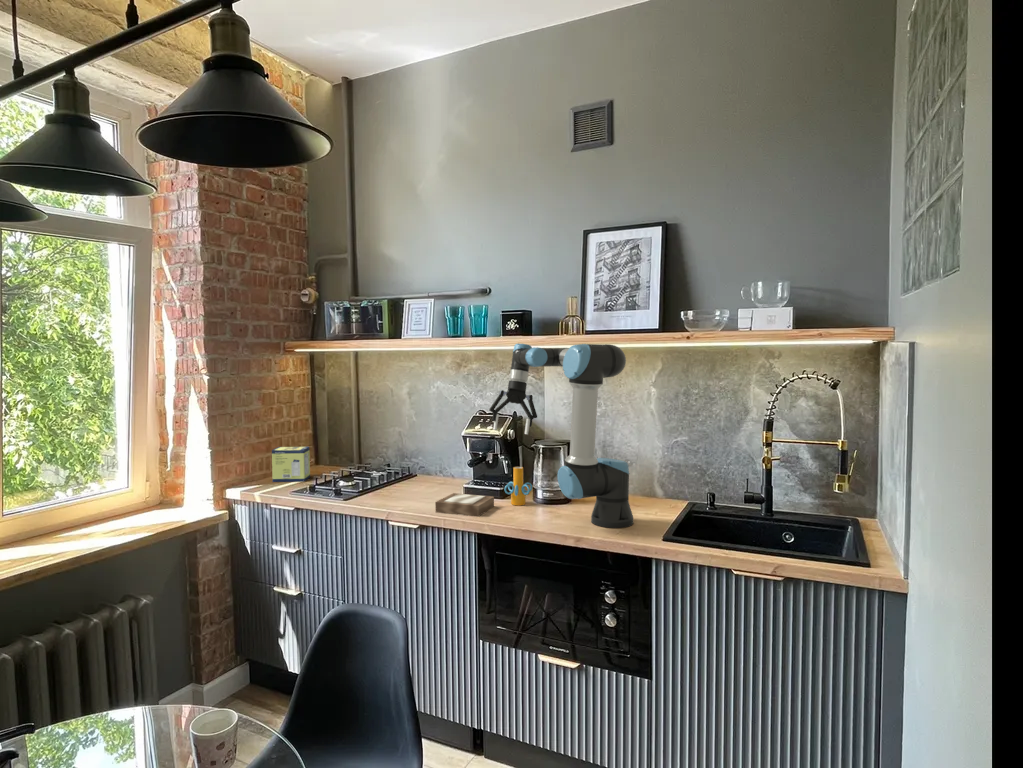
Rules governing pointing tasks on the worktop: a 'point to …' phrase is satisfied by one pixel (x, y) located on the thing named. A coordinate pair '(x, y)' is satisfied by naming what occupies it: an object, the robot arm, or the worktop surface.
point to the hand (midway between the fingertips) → (510, 432)
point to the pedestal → (465, 504)
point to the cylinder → (518, 488)
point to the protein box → (290, 464)
